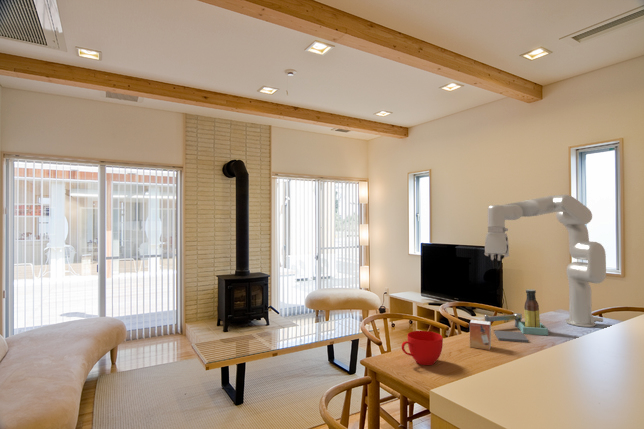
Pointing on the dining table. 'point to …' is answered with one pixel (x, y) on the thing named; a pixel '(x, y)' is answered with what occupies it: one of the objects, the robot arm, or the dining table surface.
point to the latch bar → (503, 317)
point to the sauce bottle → (531, 310)
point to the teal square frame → (531, 328)
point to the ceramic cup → (424, 346)
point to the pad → (511, 336)
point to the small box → (480, 334)
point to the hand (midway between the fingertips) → (496, 268)
